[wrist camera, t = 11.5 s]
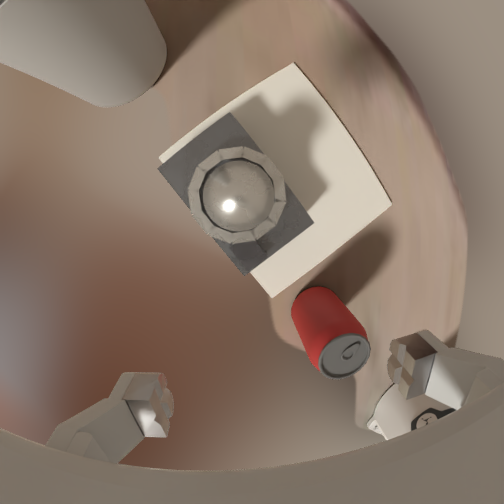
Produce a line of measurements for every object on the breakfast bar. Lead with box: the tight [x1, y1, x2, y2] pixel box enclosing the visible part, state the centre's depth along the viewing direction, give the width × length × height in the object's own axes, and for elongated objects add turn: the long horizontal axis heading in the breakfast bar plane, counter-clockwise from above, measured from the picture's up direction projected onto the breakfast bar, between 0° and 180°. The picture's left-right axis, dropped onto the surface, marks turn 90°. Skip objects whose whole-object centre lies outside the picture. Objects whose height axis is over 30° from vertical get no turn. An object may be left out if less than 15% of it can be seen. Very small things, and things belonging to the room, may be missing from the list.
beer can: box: [291, 286, 371, 379], centre depth 31 cm, size 7×7×12 cm
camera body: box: [158, 112, 314, 276], centre depth 29 cm, size 14×9×7 cm, turn 37°
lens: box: [203, 161, 274, 232], centre depth 24 cm, size 5×5×7 cm
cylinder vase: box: [0, 0, 167, 107], centre depth 15 cm, size 12×12×25 cm
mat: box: [159, 63, 392, 298], centre depth 32 cm, size 22×20×1 cm
